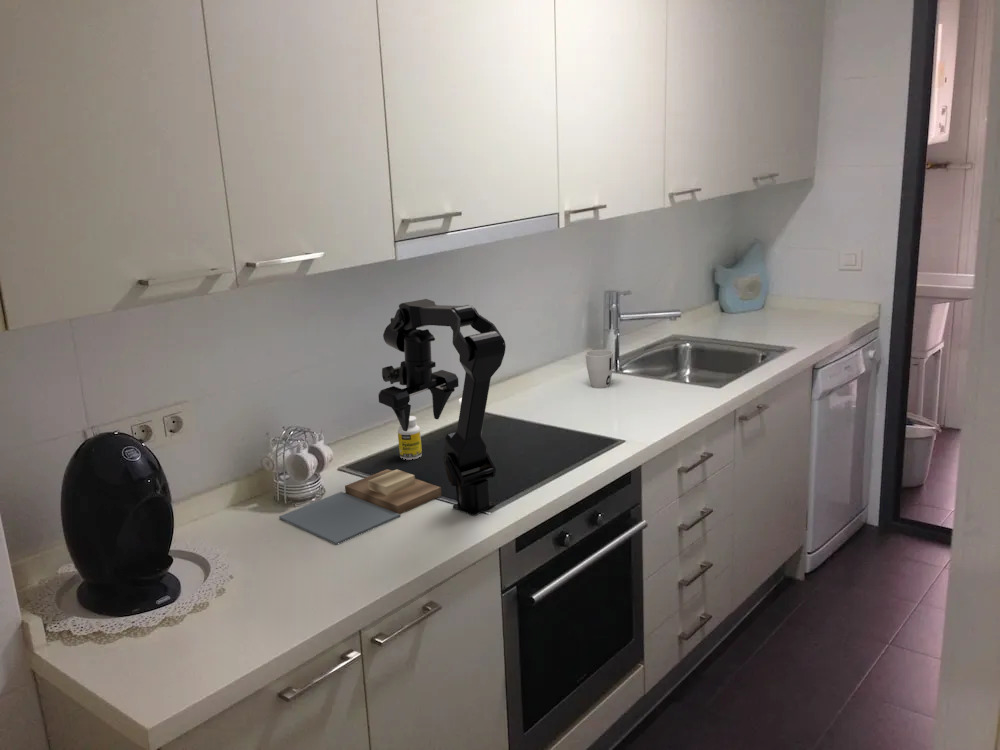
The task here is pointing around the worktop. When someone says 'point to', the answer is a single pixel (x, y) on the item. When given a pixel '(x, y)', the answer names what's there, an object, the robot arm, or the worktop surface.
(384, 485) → the birch tile
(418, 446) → the supplement bottle
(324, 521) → the slate mat
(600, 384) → the cup
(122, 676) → the worktop surface
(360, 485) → the walnut board
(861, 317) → the worktop surface
